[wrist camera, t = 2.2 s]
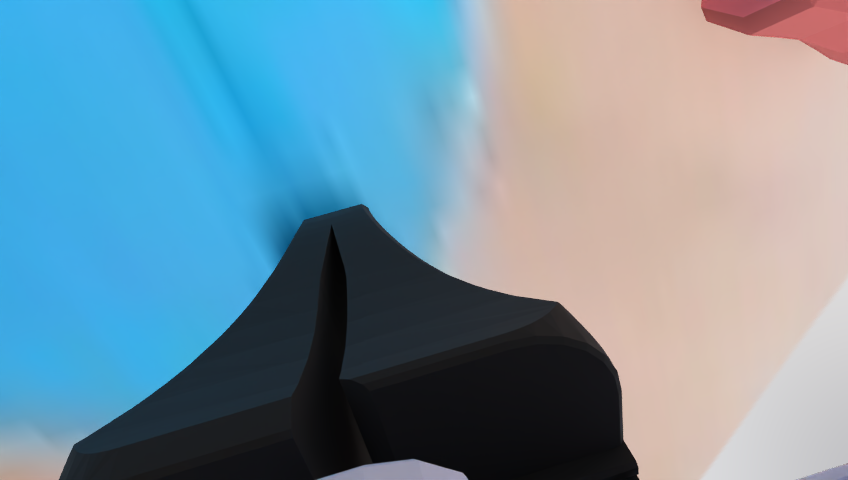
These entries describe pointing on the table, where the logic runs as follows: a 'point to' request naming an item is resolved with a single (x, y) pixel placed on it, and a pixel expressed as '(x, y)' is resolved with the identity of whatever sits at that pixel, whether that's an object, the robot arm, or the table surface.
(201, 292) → the table surface
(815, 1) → the meat
